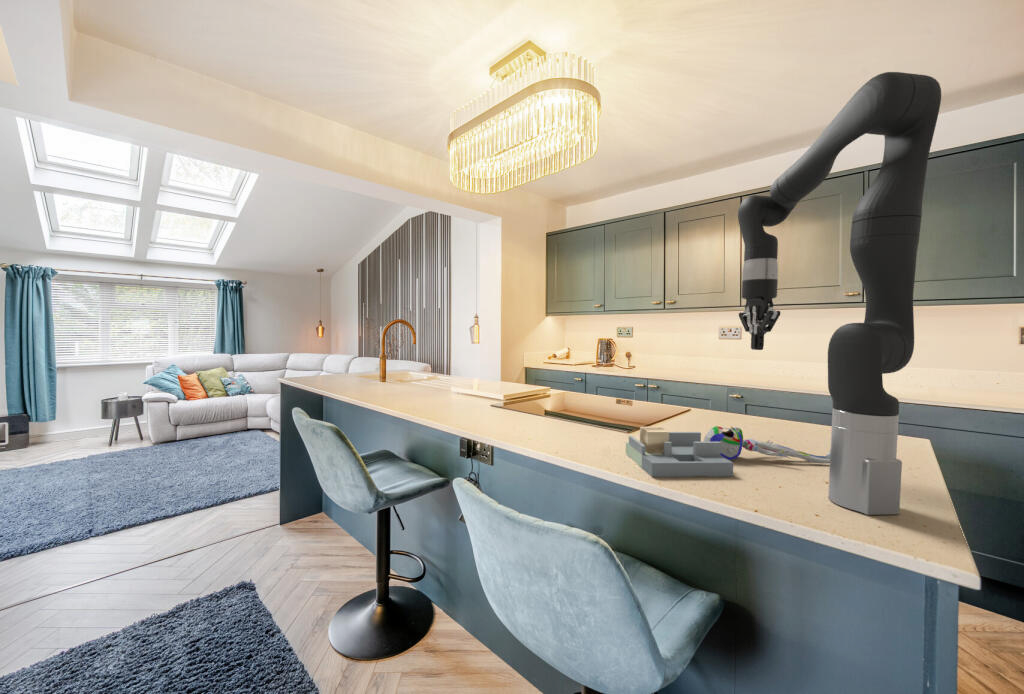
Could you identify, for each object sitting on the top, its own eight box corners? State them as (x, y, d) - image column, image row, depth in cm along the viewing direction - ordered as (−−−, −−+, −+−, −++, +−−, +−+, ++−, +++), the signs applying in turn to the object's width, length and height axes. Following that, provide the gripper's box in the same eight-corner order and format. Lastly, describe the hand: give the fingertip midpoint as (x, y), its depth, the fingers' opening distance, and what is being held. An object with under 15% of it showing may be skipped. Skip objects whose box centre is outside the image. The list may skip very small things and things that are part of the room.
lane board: (732, 476, 91) (733, 448, 91) (651, 476, 90) (652, 449, 90) (694, 453, 108) (695, 429, 108) (625, 453, 107) (626, 430, 107)
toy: (853, 451, 95) (716, 426, 99) (846, 487, 96) (709, 461, 100) (827, 440, 105) (703, 417, 110) (820, 472, 106) (697, 449, 110)
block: (668, 453, 97) (669, 431, 97) (647, 453, 97) (647, 431, 97) (659, 447, 102) (660, 426, 102) (639, 447, 102) (640, 426, 102)
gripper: (794, 276, 96) (790, 351, 97) (757, 282, 110) (754, 348, 110) (762, 275, 96) (759, 351, 97) (729, 281, 109) (726, 348, 110)
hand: (756, 349), depth 104 cm, fingers closed
